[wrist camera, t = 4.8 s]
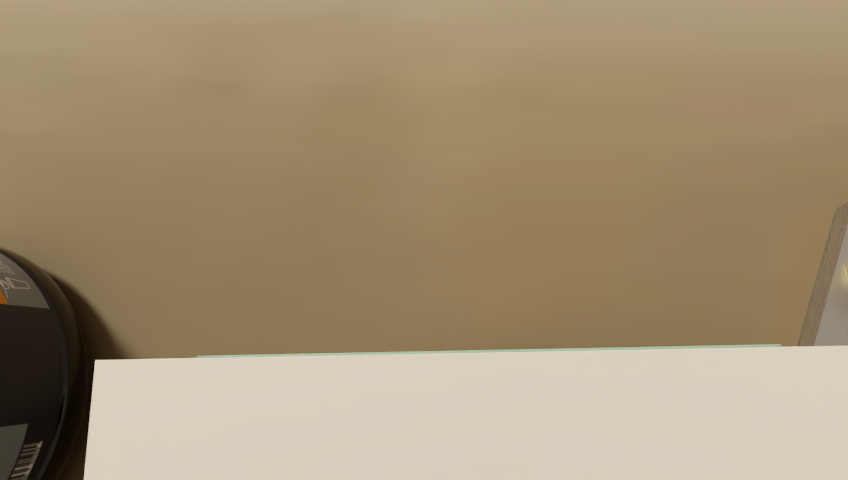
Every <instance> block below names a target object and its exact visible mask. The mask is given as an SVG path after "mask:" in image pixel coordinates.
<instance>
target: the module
mask: <svg viewBox="0 0 848 480" xmlns="http://www.w3.org/2000/svg"><path fill="white" fill-rule="evenodd" d="M84 480H848V346H797V347H781V344H769V345H719V346H669V347H618V348H568V349H518V350H467V351H417V352H367V353H316V354H266V355H216V356H197V358H170V359H118V360H95V367H94V377H93V387H92V398H91V408H90V418H89V429H88V439H87V449H86V460H85V470H84Z"/></svg>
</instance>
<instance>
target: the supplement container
mask: <svg viewBox="0 0 848 480" xmlns="http://www.w3.org/2000/svg"><path fill="white" fill-rule="evenodd" d="M88 386H89V367H88V357H87V350H86V345H85V340H84V336H83V333H82V329H81V326H80V323H79V321H78V318H77V316H76V313H75V311H74V309H73V307H72V305H71V304H70V302H69V300H68V298H67V297H66V295H65V294H64V293H63V291H62V290H61V288H60V287H59V286H58V285H57V284H56V283H55V282H54V280H53V279H52V278H51V277H50V276H49V275H48V274H47V273H45V272H44V271H43V270H42V269H41V268H40V267H38V266H37V265H35V264H34V263H32V262H31V261H29V260H28V259H26V258H25V257H23V256H21V255H19V254H16V253H14V252H12V251H10V250H7V249H4V248H1V247H0V480H58V479H59V477H60V475H61V473H62V472H63V470H64V468H65V467H66V465H67V463H68V460H69V458H70V456H71V454H72V452H73V450H74V447H75V445H76V442H77V439H78V436H79V434H80V431H81V427H82V423H83V419H84V416H85V410H86V404H87V397H88Z"/></svg>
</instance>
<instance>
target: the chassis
mask: <svg viewBox="0 0 848 480" xmlns="http://www.w3.org/2000/svg"><path fill="white" fill-rule="evenodd" d="M798 346H848V203H846V204H844V205H842V206H840V207H838V208H837V209H836V213H835V217H834V220H833V224H832V227H831V231H830V234H829V238H828V241H827V245H826V248H825V252H824V256H823V259H822V263H821V266H820V270H819V273H818V277H817V280H816V284H815V287H814V291H813V295H812V298H811V302H810V305H809V309H808V312H807V316H806V319H805V323H804V326H803V330H802V334H801V337H800V341H799V344H798Z"/></svg>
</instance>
